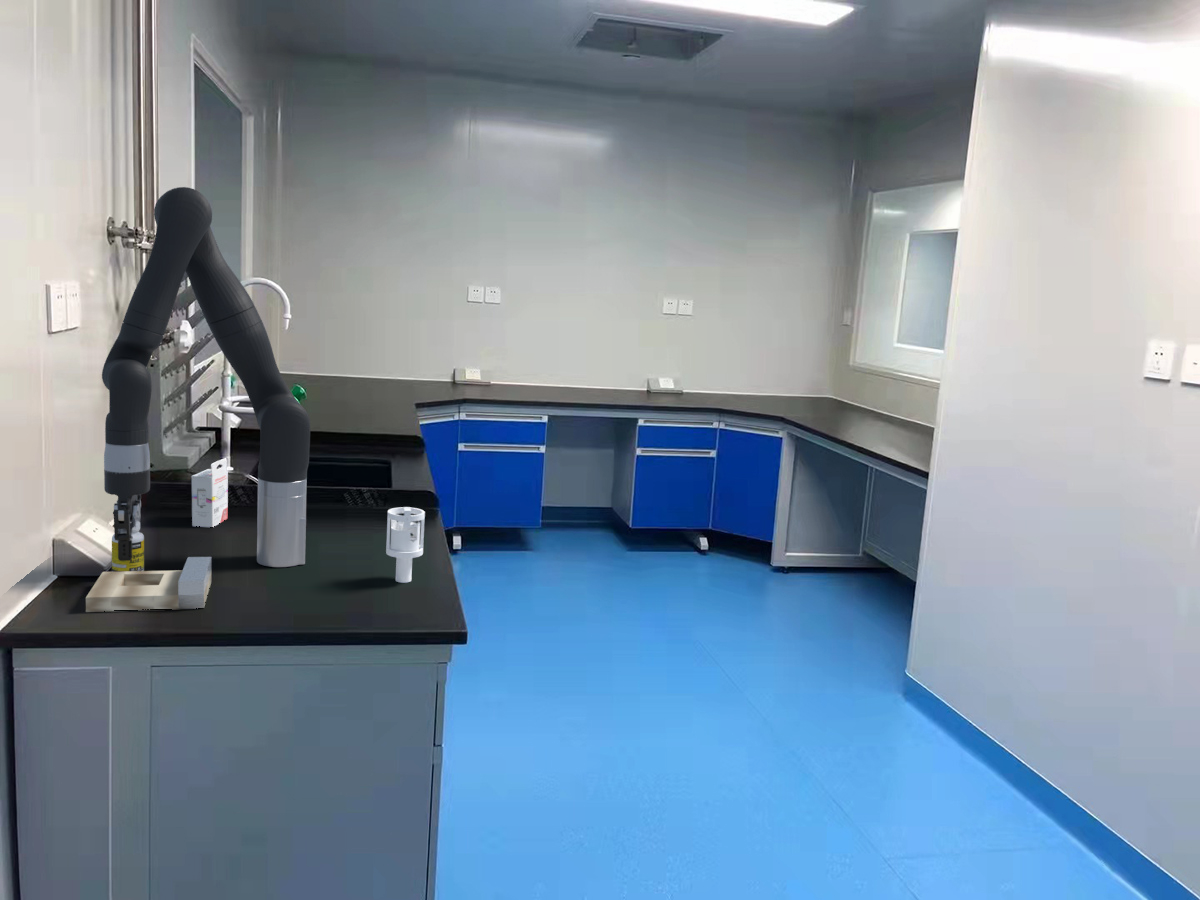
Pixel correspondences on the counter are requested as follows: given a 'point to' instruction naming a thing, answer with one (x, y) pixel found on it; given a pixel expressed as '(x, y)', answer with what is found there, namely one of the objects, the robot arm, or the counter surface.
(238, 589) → the counter surface
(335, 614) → the counter surface
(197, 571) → the jig
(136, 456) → the robot arm
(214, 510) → the ink cartridge box
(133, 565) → the supplement bottle
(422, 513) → the strainer
